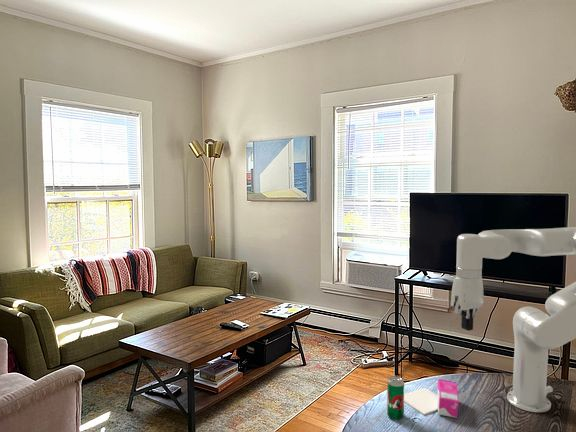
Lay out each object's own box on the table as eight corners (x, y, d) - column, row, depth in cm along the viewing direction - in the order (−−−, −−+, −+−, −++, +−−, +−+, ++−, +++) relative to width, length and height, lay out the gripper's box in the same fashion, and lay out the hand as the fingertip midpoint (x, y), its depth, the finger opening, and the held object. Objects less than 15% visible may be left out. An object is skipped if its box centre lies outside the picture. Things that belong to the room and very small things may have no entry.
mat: (424, 389, 154) (424, 387, 154) (451, 405, 144) (451, 403, 144) (397, 397, 149) (397, 396, 149) (423, 415, 138) (424, 413, 138)
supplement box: (455, 397, 147) (456, 419, 136) (436, 393, 149) (436, 414, 138) (457, 382, 146) (459, 402, 135) (438, 378, 148) (439, 398, 137)
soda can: (406, 415, 138) (407, 379, 137) (398, 422, 135) (398, 385, 133) (392, 409, 142) (393, 374, 140) (384, 416, 138) (384, 379, 137)
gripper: (475, 268, 147) (473, 321, 149) (442, 273, 140) (441, 329, 142) (495, 272, 140) (492, 328, 143) (461, 278, 134) (460, 337, 136)
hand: (467, 328), depth 142 cm, fingers closed
